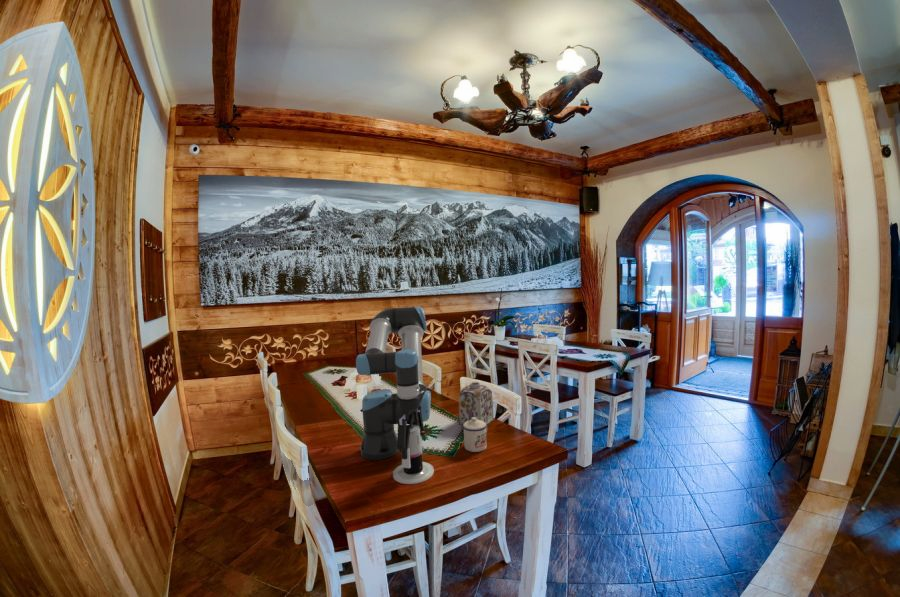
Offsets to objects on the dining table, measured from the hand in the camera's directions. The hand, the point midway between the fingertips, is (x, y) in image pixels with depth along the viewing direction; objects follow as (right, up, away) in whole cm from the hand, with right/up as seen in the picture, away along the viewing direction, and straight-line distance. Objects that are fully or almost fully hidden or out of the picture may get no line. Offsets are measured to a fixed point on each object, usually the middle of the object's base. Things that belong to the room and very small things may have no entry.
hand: (412, 460), depth 128 cm
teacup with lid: (+24, -2, +18) cm, 30 cm away
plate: (0, -4, 0) cm, 4 cm away
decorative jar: (+25, -1, +42) cm, 49 cm away
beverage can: (0, -4, 0) cm, 4 cm away
